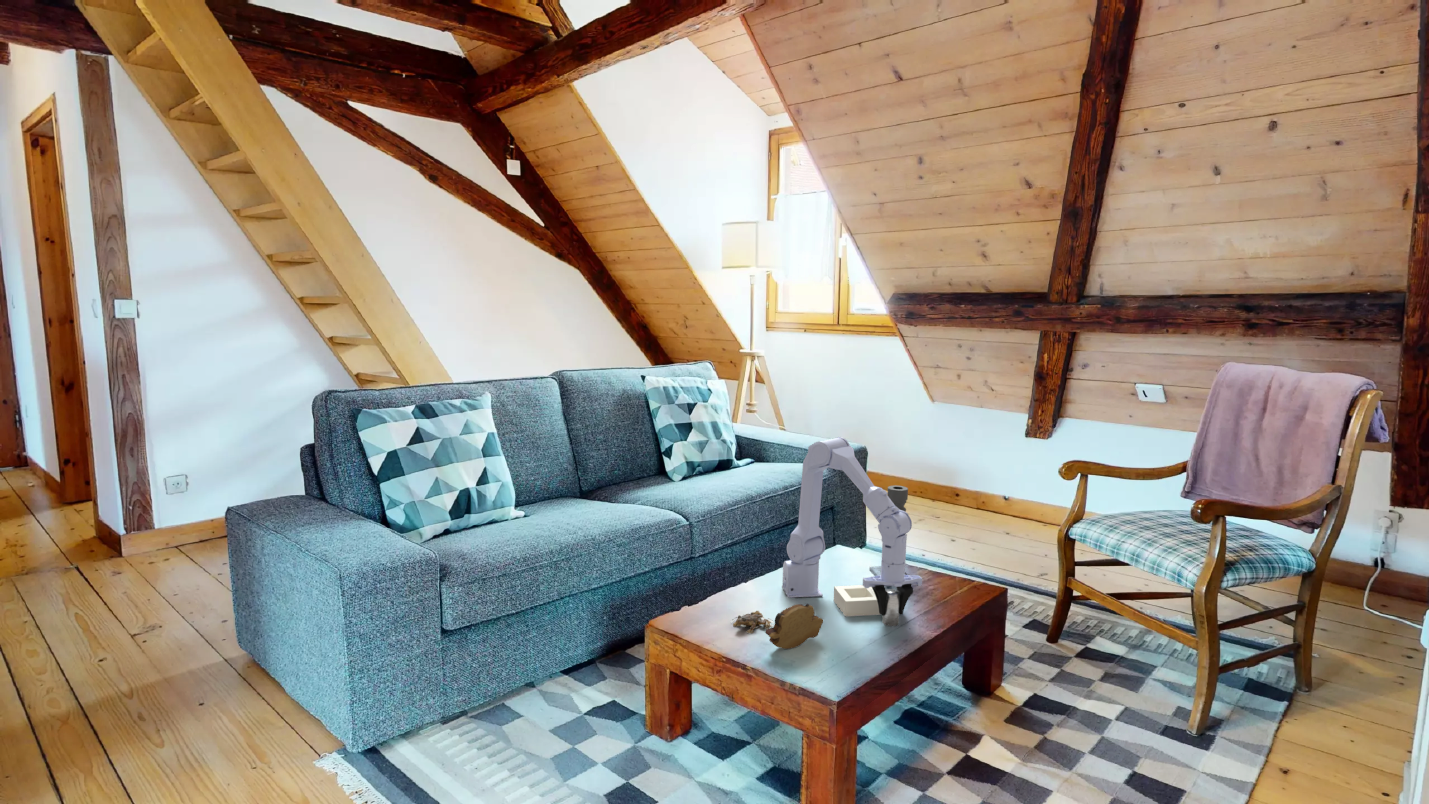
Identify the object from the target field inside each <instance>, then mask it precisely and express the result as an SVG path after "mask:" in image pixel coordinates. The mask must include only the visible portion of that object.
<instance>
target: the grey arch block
mask: <svg viewBox="0 0 1429 804" xmlns="http://www.w3.org/2000/svg"><path fill="white" fill-rule="evenodd" d="M869 572H870V573H871V574H872V575H873V576H878V575H881V565H880V566H879V565H878V566H869ZM884 588H885V590H886V589H895V590H897V587H895V586H884Z"/></svg>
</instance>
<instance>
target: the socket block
mask: <svg viewBox="0 0 1429 804" xmlns="http://www.w3.org/2000/svg"><path fill="white" fill-rule="evenodd" d="M833 602H834V604H835V605H836V604H837V605H836V606H837V608H838V609H839V608H840V609H839V610H840V611H841V613H842V612H843V613H842V614H843V616H844V617H857V616H858V617H859V616H860V617H861V616H863V617H865V616H877V615H878V616H882V615H881V614H880V613H879V606H878V602H877V599H876V596H875V593H874V591H873V589H872V587H869V588H865V587H864V586H863V584H859V585H858V584H855V585H841V586H840V585H837V586H833Z"/></svg>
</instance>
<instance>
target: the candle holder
mask: <svg viewBox="0 0 1429 804" xmlns="http://www.w3.org/2000/svg"><path fill="white" fill-rule="evenodd" d="M887 493H888V494H887V496H888V497H889V498H890V500H891V501H892V502H893V503H894V505H895V506H896V507H897V508H899V509H900V510H902V511H905V512H906V513H907V508H906V507H905V505H906V503H907V501H908V496H909V487H906V486H904V485H903V486H902V485H890V486H887ZM904 535H905V534H904Z"/></svg>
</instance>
